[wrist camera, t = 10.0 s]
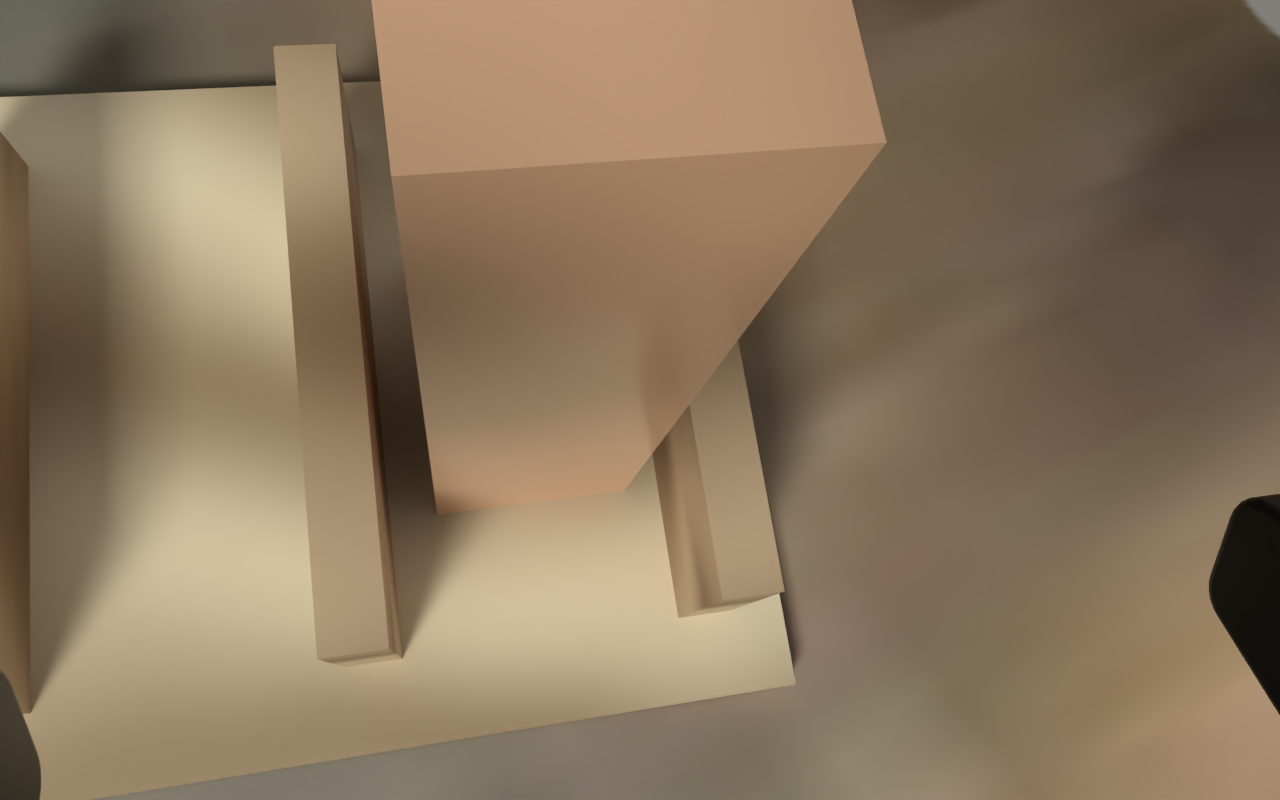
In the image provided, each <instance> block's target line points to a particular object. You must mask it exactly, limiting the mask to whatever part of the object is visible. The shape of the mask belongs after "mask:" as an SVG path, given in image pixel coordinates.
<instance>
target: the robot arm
mask: <svg viewBox="0 0 1280 800" xmlns="http://www.w3.org/2000/svg"><path fill="white" fill-rule="evenodd" d="M1209 595H1210V600H1211V603H1212V606H1213V608H1214V610H1215V612H1216V614H1217V616H1218V617H1219V619H1220V620H1221V622H1222V624H1223V625H1224V627H1225V628H1226V630H1227V632H1228V633H1229V635H1230V636H1231V638H1232V640H1233V641H1234V643H1235V644H1236V646H1237V648H1238V649H1239V651H1240V652H1241V654H1242V656H1243V657H1244V659H1245V660H1246V662H1247V664H1248V665H1249V667H1250V668H1251V670H1252V672H1253V673H1254V675H1255V676H1256V678H1257V680H1258V681H1259V683H1260V684H1261V686H1262V688H1263V689H1264V691H1265V692H1266V694H1267V696H1268V697H1269V699H1270V700H1271V702H1272V704H1273V705H1274V707H1275V708H1276V710H1277V712H1278V713H1279V715H1280V494H1275V495H1268V496H1260V497H1253V498H1249V499H1246V500H1244V501H1242V502H1241V503H1240V504H1239V505H1238V506H1237V507H1236V508H1235V509H1234V511H1233V513H1232V515H1231V517H1230V520H1229V523H1228V526H1227V529H1226V532H1225V535H1224V537H1223V540H1222V543H1221V546H1220V549H1219V552H1218V555H1217V558H1216V561H1215V564H1214V567H1213V570H1212V572H1211V575H1210V580H1209ZM40 793H41V766H40V760H39V756H38V753H37V750H36V747H35V745H34V742H33V740H32V737H31V734H30V732H29V729H28V726H27V724H26V721H25V719H24V716H23V713H22V711H21V708H20V705H19V703H18V700H17V698H16V695H15V692H14V690H13V687H12V684H11V682H10V680H9V679H8V677H7V675H6V674H5V673H4V672H3V671H2V670H1V669H0V800H40Z"/></svg>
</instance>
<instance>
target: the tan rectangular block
mask: <svg viewBox="0 0 1280 800" xmlns="http://www.w3.org/2000/svg"><path fill="white" fill-rule="evenodd" d="M372 9H373V18H374V27H375V36H376V45H377V54H378V63H379V72H380V81H381V89H382V98H383V107H384V116H385V125H386V134H387V143H388V152H389V161H390V170H391V179H392V186H393V193H394V201H395V208H396V215H397V223H398V230H399V237H400V245H401V252H402V260H403V267H404V274H405V282H406V289H407V296H408V304H409V311H410V318H411V326H412V333H413V340H414V348H415V355H416V362H417V370H418V377H419V384H420V392H421V399H422V406H423V414H424V421H425V428H426V436H427V443H428V450H429V458H430V465H431V472H432V480H433V487H434V494H435V502H436V509H437V515H444V514H451V513H459V512H466V511H474V510H482V509H489V508H497V507H505V506H512V505H520V504H527V503H535V502H543V501H550V500H558V499H565V498H573V497H581V496H588V495H596V494H603V493H611V492H619V491H624V490H625V489H626V488H627V486H628V485H629V484H630V482H631V481H632V480H633V478H634V477H635V476H636V474H637V473H638V472H639V470H640V469H641V468H642V467H643V465H644V464H645V463H646V461H647V460H648V459H649V457H650V456H651V455H652V453H653V452H654V451H655V449H656V448H657V447H658V445H659V444H660V443H661V441H662V440H663V439H664V437H665V436H666V435H667V433H668V432H669V431H670V429H671V428H672V427H673V425H674V424H675V423H676V421H677V420H678V419H679V417H680V416H681V415H682V413H683V412H684V411H685V409H686V408H687V407H688V406H689V404H690V403H691V402H692V400H693V399H694V398H695V396H696V395H697V394H698V392H699V391H700V390H701V388H702V387H703V386H704V384H705V383H706V382H707V380H708V379H709V378H710V376H711V375H712V374H713V372H714V371H715V370H716V368H717V367H718V366H719V364H720V363H721V362H722V360H723V359H724V358H725V356H726V355H727V354H728V352H729V351H730V350H731V348H732V347H733V346H734V344H735V343H736V342H737V341H738V339H739V338H740V337H741V335H742V334H743V333H744V331H745V330H746V329H747V327H748V326H749V325H750V323H751V322H752V321H753V319H754V318H755V317H756V315H757V314H758V313H759V311H760V310H761V309H762V307H763V306H764V305H765V303H766V302H767V301H768V299H769V298H770V297H771V295H772V294H773V293H774V291H775V290H776V289H777V287H778V286H779V285H780V283H781V282H782V281H783V280H784V278H785V277H786V276H787V274H788V273H789V272H790V270H791V269H792V268H793V266H794V265H795V264H796V262H797V261H798V260H799V258H800V257H801V256H802V254H803V253H804V252H805V250H806V249H807V248H808V246H809V245H810V244H811V242H812V241H813V240H814V238H815V237H816V236H817V234H818V233H819V232H820V230H821V229H822V228H823V226H824V225H825V224H826V222H827V221H828V220H829V218H830V217H831V216H832V215H833V213H834V212H835V211H836V209H837V208H838V207H839V205H840V204H841V203H842V201H843V200H844V199H845V197H846V196H847V195H848V193H849V192H850V191H851V189H852V188H853V187H854V185H855V184H856V183H857V181H858V180H859V179H860V177H861V176H862V175H863V173H864V172H865V171H866V169H867V168H868V167H869V165H870V164H871V163H872V161H873V160H874V159H875V157H876V156H877V155H878V154H879V152H880V151H881V150H882V148H883V147H884V146H885V144H886V143H887V142H886V138H885V134H884V130H883V126H882V122H881V118H880V114H879V110H878V106H877V101H876V97H875V93H874V89H873V85H872V81H871V77H870V73H869V69H868V65H867V61H866V56H865V52H864V48H863V44H862V40H861V36H860V32H859V28H858V24H857V20H856V16H855V11H854V7H853V3H852V0H372Z"/></svg>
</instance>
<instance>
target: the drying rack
mask: <svg viewBox="0 0 1280 800" xmlns="http://www.w3.org/2000/svg"><path fill="white" fill-rule="evenodd" d="M273 48H274V62H275V76H276V86H254V87H230V88H206V89H183V90H159V91H135V92H111V93H88V94H64V95H40V96H17V97H0V669H1V670H2V671H3V672H4V673H5V674H6V675H7V677H8V679H9V680H10V682H11V684H12V687H13V690H14V692H15V695H16V698H17V700H18V703H19V705H20V708H21V711H22V713H23V716H24V719H25V721H26V724H27V726H28V729H29V732H30V734H31V737H32V740H33V742H34V745H35V747H36V750H37V753H38V756H39V760H40V766H41V793H40V800H93V799H99V798H105V797H111V796H117V795H124V794H130V793H136V792H142V791H148V790H154V789H160V788H166V787H172V786H179V785H185V784H191V783H197V782H203V781H209V780H215V779H221V778H228V777H234V776H240V775H246V774H252V773H258V772H264V771H270V770H276V769H283V768H289V767H295V766H301V765H307V764H313V763H319V762H325V761H332V760H338V759H344V758H350V757H356V756H362V755H368V754H374V753H380V752H387V751H393V750H399V749H405V748H411V747H417V746H423V745H429V744H436V743H442V742H448V741H454V740H460V739H466V738H472V737H478V736H484V735H491V734H497V733H503V732H509V731H515V730H521V729H527V728H533V727H540V726H546V725H552V724H558V723H564V722H570V721H576V720H582V719H588V718H595V717H601V716H607V715H613V714H619V713H625V712H631V711H637V710H644V709H650V708H656V707H662V706H668V705H674V704H680V703H686V702H692V701H699V700H705V699H711V698H717V697H723V696H729V695H735V694H741V693H748V692H754V691H760V690H766V689H772V688H778V687H784V686H790V685H796V682H795V677H794V671H793V666H792V660H791V655H790V649H789V644H788V638H787V633H786V627H785V622H784V616H783V611H782V606H781V600H780V595H779V593H782V592H784V585H783V580H782V574H781V569H780V564H779V558H778V553H777V547H776V542H775V536H774V531H773V526H772V520H771V515H770V509H769V504H768V499H767V493H766V488H765V482H764V477H763V471H762V466H761V461H760V455H759V450H758V444H757V439H756V434H755V428H754V423H753V417H752V412H751V406H750V401H749V396H748V390H747V385H746V379H745V374H744V369H743V363H742V358H741V352H740V347H739V341H737V342H736V343H735V344H734V346H733V347H732V348H731V350H730V351H729V352H728V354H727V355H726V356H725V358H724V359H723V360H722V362H721V363H720V364H719V366H718V367H717V368H716V370H715V371H714V372H713V374H712V375H711V376H710V378H709V379H708V380H707V382H706V383H705V384H704V386H703V387H702V388H701V390H700V391H699V392H698V394H697V395H696V396H695V398H694V399H693V400H692V402H691V403H690V404H689V406H688V407H687V408H686V409H685V411H684V412H683V413H682V415H681V416H680V417H679V419H678V420H677V421H676V423H675V424H674V425H673V427H672V428H671V429H670V431H669V432H668V433H667V435H666V436H665V437H664V439H663V440H662V441H661V443H660V444H659V445H658V447H657V448H656V449H655V451H654V452H653V453H652V455H651V456H650V457H649V459H648V460H647V461H646V463H645V464H644V465H643V467H642V468H641V469H640V470H639V472H638V473H637V474H636V476H635V477H634V478H633V480H632V481H631V482H630V484H629V485H628V486H627V488H626V489H625V490H624V491H619V492H611V493H603V494H596V495H588V496H581V497H573V498H565V499H558V500H550V501H543V502H535V503H527V504H520V505H512V506H505V507H497V508H489V509H482V510H474V511H466V512H459V513H451V514H444V515H437V509H436V502H435V494H434V487H433V480H432V472H431V465H430V458H429V450H428V443H427V436H426V428H425V421H424V414H423V406H422V399H421V392H420V384H419V377H418V370H417V362H416V355H415V348H414V340H413V333H412V326H411V318H410V311H409V304H408V296H407V289H406V282H405V274H404V267H403V260H402V252H401V245H400V237H399V230H398V223H397V215H396V208H395V201H394V193H393V186H392V179H391V170H390V161H389V152H388V143H387V134H386V125H385V116H384V107H383V98H382V89H381V81H372V82H349V83H343V80H342V75H341V70H340V65H339V59H338V54H337V49H336V44H319V45H291V46H273Z"/></svg>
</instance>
